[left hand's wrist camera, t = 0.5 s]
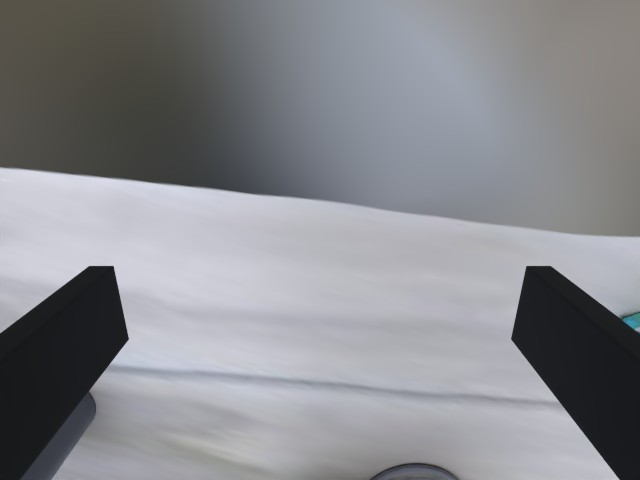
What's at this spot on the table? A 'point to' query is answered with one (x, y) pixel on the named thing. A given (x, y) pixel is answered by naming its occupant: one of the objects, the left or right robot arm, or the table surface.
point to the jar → (62, 442)
